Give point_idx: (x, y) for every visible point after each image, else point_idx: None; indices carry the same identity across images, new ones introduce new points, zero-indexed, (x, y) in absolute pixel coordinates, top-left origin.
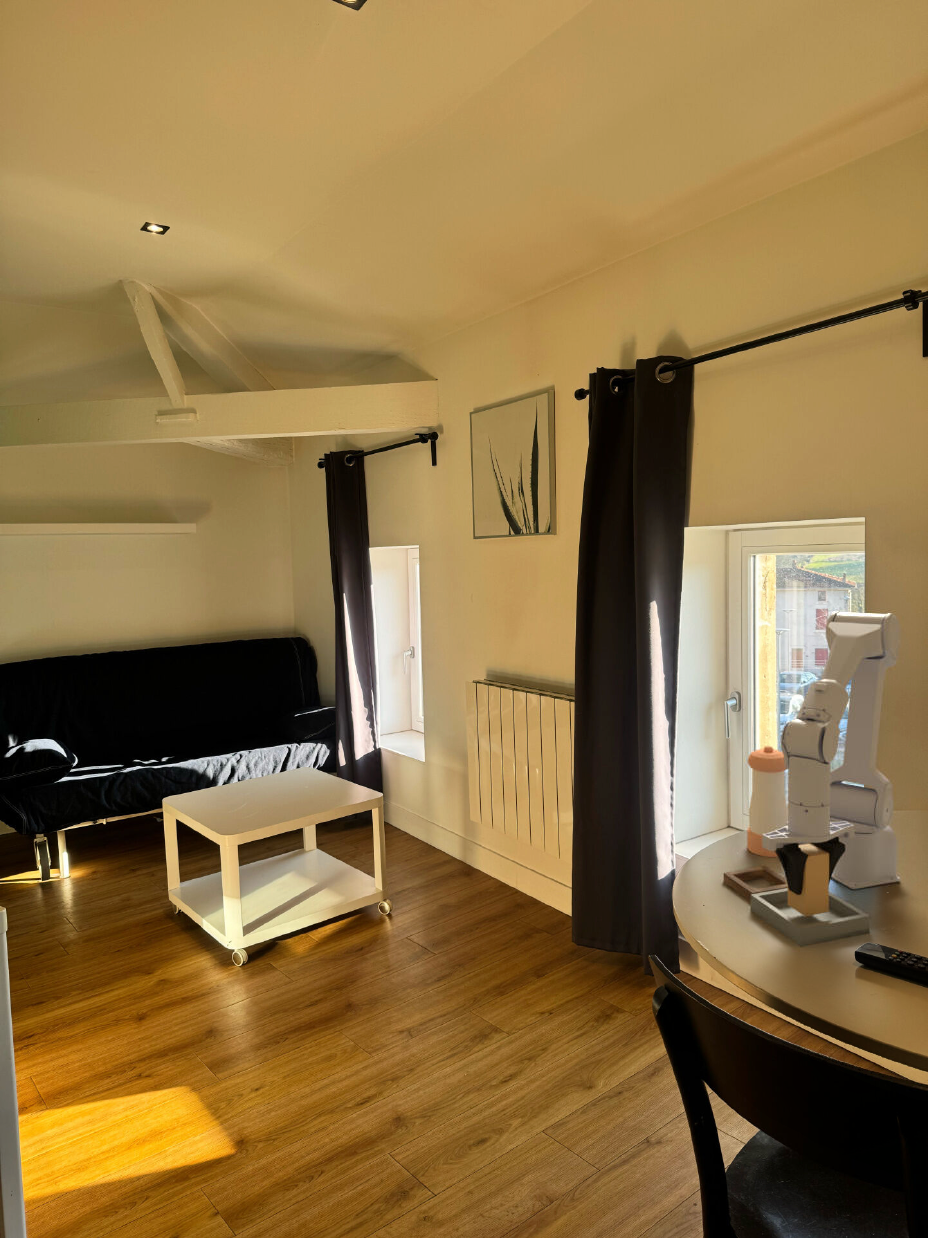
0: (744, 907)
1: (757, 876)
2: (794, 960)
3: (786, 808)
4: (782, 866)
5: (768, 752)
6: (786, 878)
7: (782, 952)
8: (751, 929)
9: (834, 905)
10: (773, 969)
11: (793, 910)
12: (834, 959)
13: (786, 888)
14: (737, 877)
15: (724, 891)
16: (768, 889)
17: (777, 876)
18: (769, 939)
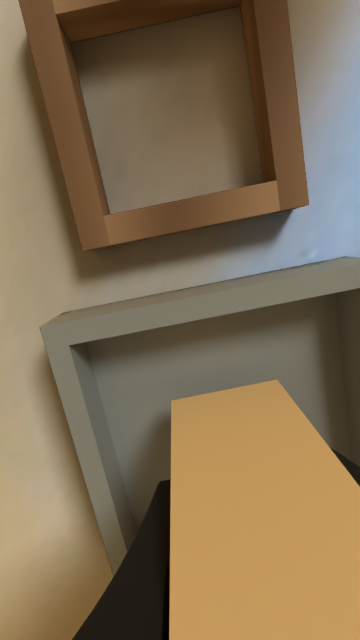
0: (47, 285)
1: (206, 3)
2: (80, 600)
3: None
4: (108, 587)
5: None
6: (145, 518)
7: (64, 564)
8: (19, 438)
9: (355, 395)
10: (8, 629)
11: (202, 370)
12: None
13: (224, 293)
14: (92, 19)
15: (10, 125)
16: (166, 228)
17: (274, 86)
18: (54, 499)
